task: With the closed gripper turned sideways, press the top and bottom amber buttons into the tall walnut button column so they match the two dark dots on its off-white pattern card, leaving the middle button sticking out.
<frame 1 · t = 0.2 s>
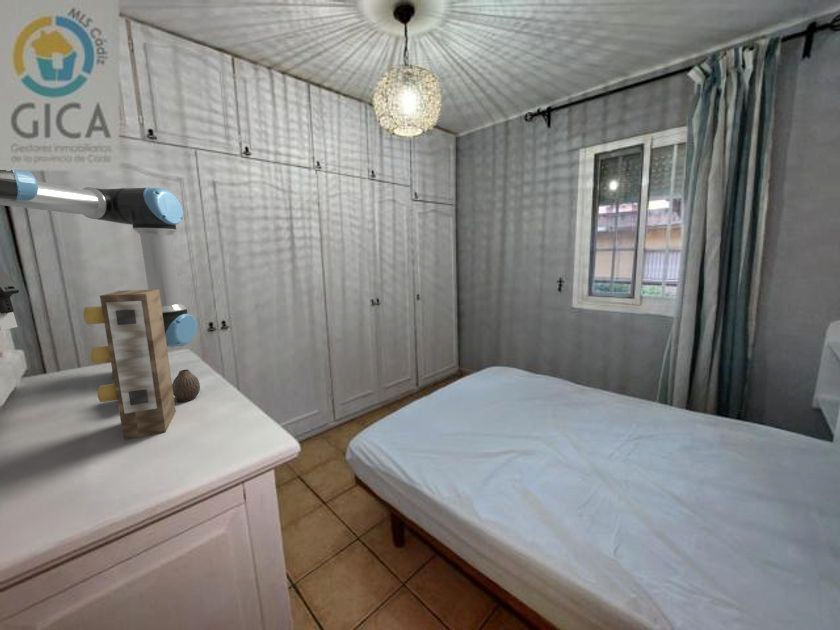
button mid: (105, 354, 79), point 19 cm above the dresser top, slide at 0.0 cm
button top: (99, 315, 77), point 29 cm above the dresser top, slide at 0.0 cm
button low: (112, 392, 80), point 10 cm above the dresser top, slide at 0.0 cm
vase: (187, 398, 101), on the dresser top
button column: (151, 424, 85), on the dresser top
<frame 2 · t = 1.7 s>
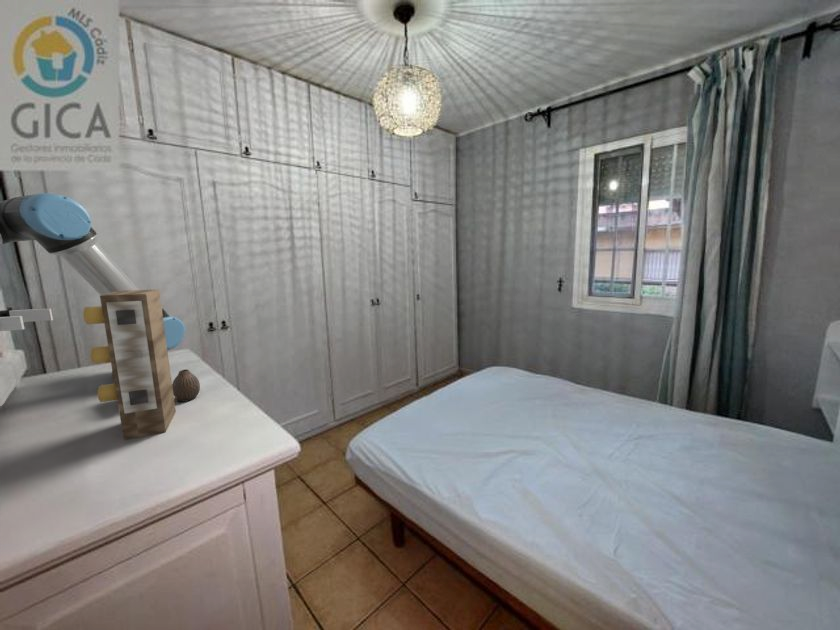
hand: (37, 318, 73), 29 cm above the dresser top, tool horizontal, fingers open, 10 cm apart
nothing on the dresser top moved.
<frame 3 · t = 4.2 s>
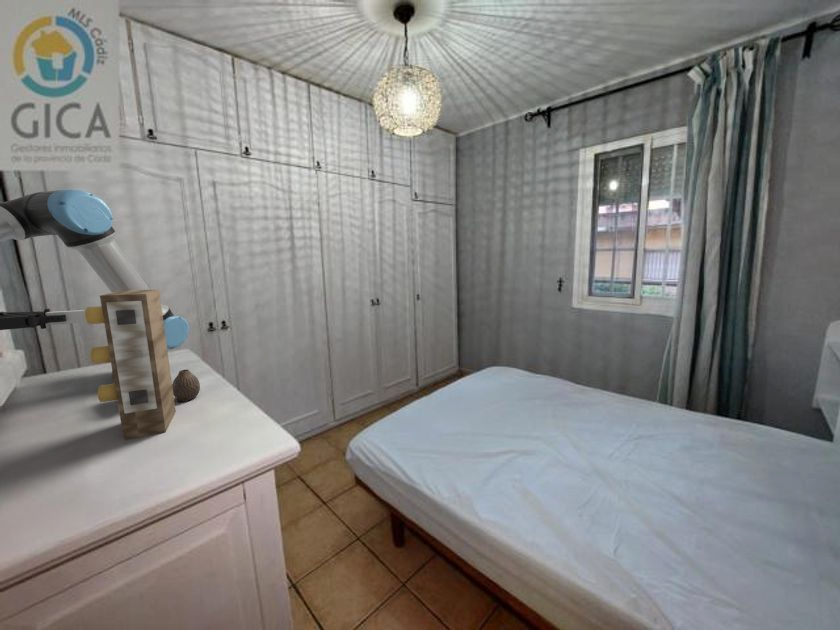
hand: (87, 316, 76), 29 cm above the dresser top, tool horizontal, fingers closed
button top: (101, 314, 77), point 29 cm above the dresser top, slide at 0.4 cm, touching gripper
everything else where it was.
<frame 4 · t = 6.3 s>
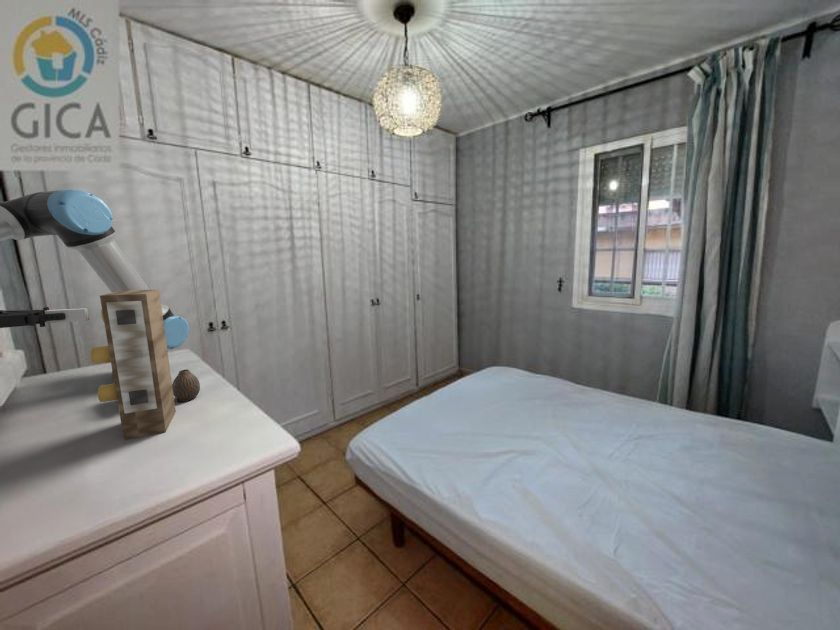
hand: (86, 314, 76), 29 cm above the dresser top, tool horizontal, fingers closed
button top: (116, 314, 79), point 29 cm above the dresser top, slide at 3.1 cm
everything else where it was.
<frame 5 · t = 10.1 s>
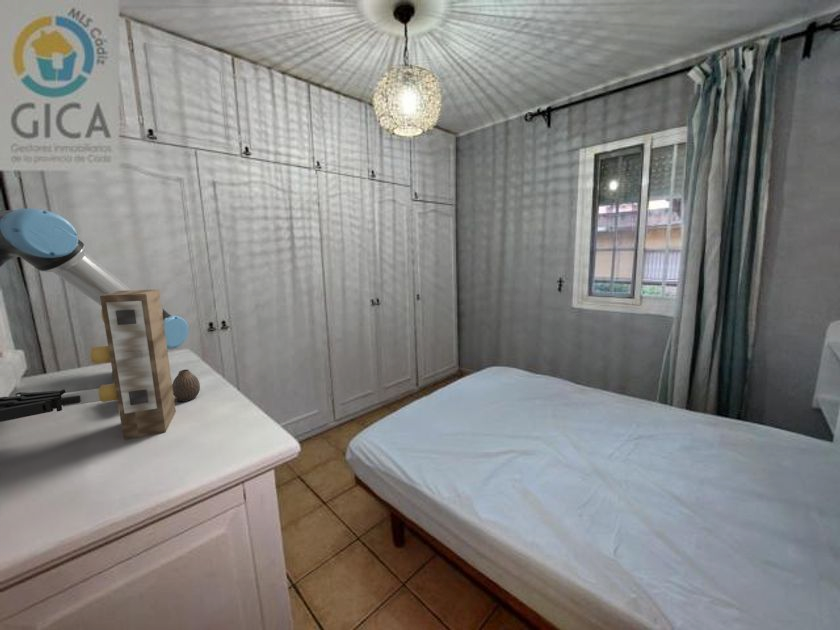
hand: (100, 394, 79), 10 cm above the dresser top, tool horizontal, fingers closed
button low: (113, 392, 81), point 10 cm above the dresser top, slide at 0.3 cm, touching gripper
everything else where it was.
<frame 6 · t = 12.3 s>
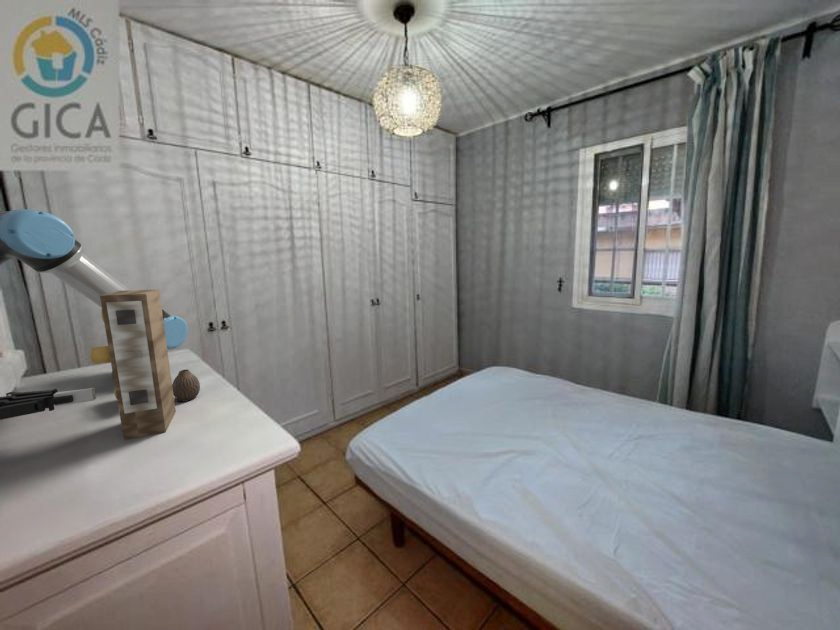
hand: (93, 394, 79), 10 cm above the dresser top, tool horizontal, fingers closed
button low: (128, 390, 82), point 10 cm above the dresser top, slide at 3.1 cm
everything else where it was.
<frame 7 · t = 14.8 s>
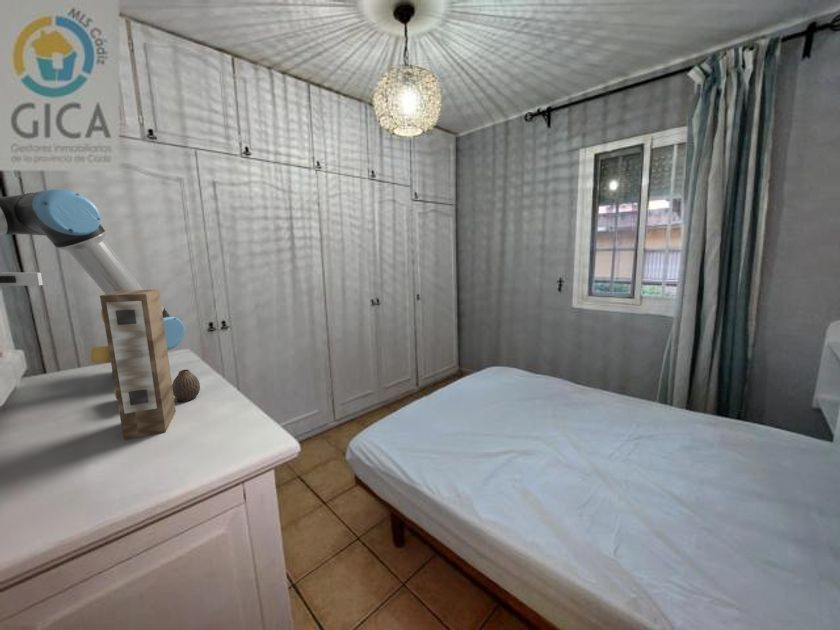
hand: (39, 278, 72), 38 cm above the dresser top, tool horizontal, fingers closed
nothing on the dresser top moved.
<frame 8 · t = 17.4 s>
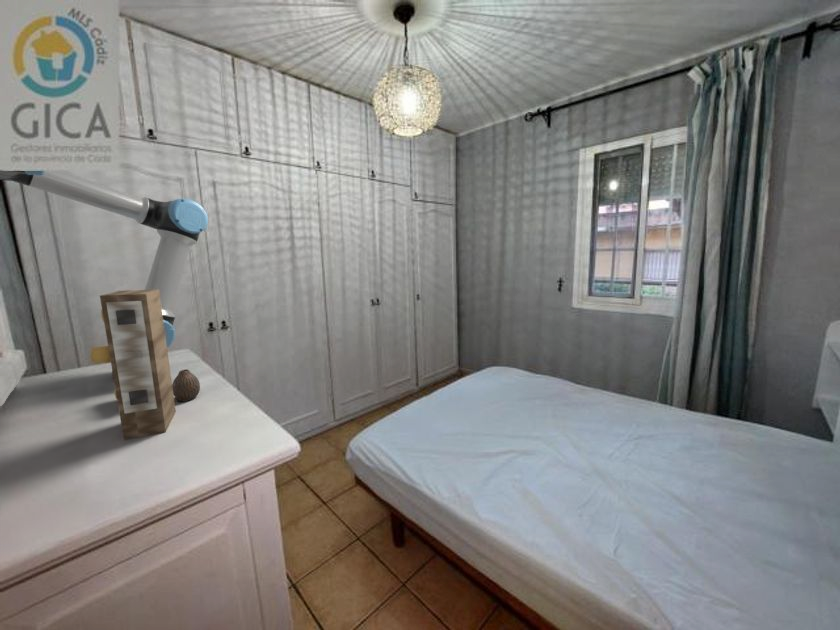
nothing on the dresser top moved.
at the end: button top slide at 3.1 cm; button low slide at 3.1 cm; button mid slide at 0.0 cm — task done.
